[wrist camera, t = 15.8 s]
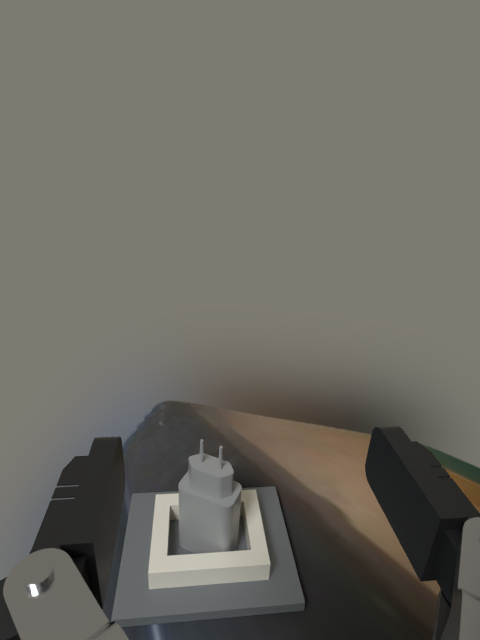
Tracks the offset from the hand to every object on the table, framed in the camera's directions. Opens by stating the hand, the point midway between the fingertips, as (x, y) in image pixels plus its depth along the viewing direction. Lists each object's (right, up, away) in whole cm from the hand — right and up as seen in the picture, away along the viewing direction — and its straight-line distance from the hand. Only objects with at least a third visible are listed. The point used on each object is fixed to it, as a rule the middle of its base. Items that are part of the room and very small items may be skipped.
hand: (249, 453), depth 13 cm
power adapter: (-3, -18, +26) cm, 32 cm away
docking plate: (-3, -18, +27) cm, 33 cm away
